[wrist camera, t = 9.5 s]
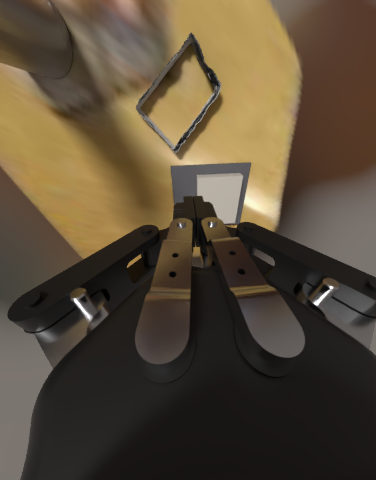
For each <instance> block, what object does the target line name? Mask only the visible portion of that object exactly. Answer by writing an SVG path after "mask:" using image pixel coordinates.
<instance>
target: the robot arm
mask: <svg viewBox="0 0 376 480" xmlns="http://www.w3.org/2000/svg"><path fill="white" fill-rule="evenodd" d="M72 54H73V53H72V44H71V40H70V36H69V33H68V30H67V27H66V25H65V23H64V21H63V19H62V17H61V15H60V13H59V12H58V10H57V9H56V7H55V6H54V4H53V3H52V2H51V1H50V0H0V63H3V64H6V65H10V66H13V67H16V68H19V69H22V70H25V71H28V72H31V73H34V74H37V75H40V76H44V77H47V78H51V79H59V78H61V77H63V76H65V75H66V74H67V73H68V71H69V69H70V67H71V63H72ZM183 201H184V202H181V203H176V204H175V205H174V214H173V221H172V222H171V223H170V227H169V228H167V229H163V230H159V229H158V227H156V226H154V225H144V226H141V227H139V228H137V229H136V230H134V231H132V232H130V233H129V234H127V235H125V236H123V237H122V238H120V239H118V240H117V241H115V242H113V243H111V244H110V245H108V246H106V247H104V248H103V249H101V250H99V251H98V252H96V253H94V254H92V255H91V256H89V257H87V258H85V259H84V260H82V261H80V262H79V263H77V264H75V265H73V266H72V267H70V268H68V269H67V270H65V271H63V272H61V273H60V274H58V275H56V276H54V277H53V278H51V279H49V280H48V281H46V282H44V283H43V284H41V285H39V286H37V287H35V288H34V289H32V290H30V291H28V292H27V293H25V294H24V295H22V296H21V297H20V298H18V299H17V300H16V301H15V302H14V303H13V304H12V306H11V307H10V309H9V311H8V318H9V319H10V320H11V321H12V322H14V323H15V324H17V325H18V326H20V327H21V328H23V329H24V331H25V332H26V333H28V334H29V335H31V336H33V337H34V338H36V339H37V340H38V342H39V344H40V346H41V348H42V350H43V351H44V353H45V355H46V357H47V359H48V360H49V362H50V364H51V366H52V368H53V370H52V372H51V373H50V375H49V376H48V378H47V379H46V381H45V383H44V384H43V387H42V388H41V390H40V393H39V395H38V397H37V400H36V403H35V406H34V409H33V413H32V419H31V427H30V436H29V444H28V450H27V455H26V460H25V464H24V468H23V472H22V476H21V479H20V480H376V355H375V354H373V352H371V351H370V350H369V348H370V344H371V339H372V335H373V331H374V327H375V322H376V277H374V276H371V275H369V274H367V273H365V272H362V271H360V270H358V269H356V268H353V267H351V266H349V265H346V264H344V263H342V262H340V261H338V260H335V259H333V258H331V257H329V256H326V255H324V254H322V253H319V252H317V251H315V250H313V249H310V248H308V247H306V246H304V245H301V244H299V243H297V242H295V241H292V240H290V239H288V238H286V237H283V236H281V235H279V234H277V233H274V232H272V231H270V230H268V229H265V228H263V227H261V226H258V225H256V224H254V223H250V222H242V223H239V224H238V225H237V228H231V227H227V226H225V224H224V223H223V221H222V220H221V219H219V218H218V217H217V215H216V212H215V209H214V207H213V204H211V203H210V202H204V200H203V196H193V197H192V196H183ZM195 241H196V247H200V258H201V262H202V266H203V268H200V267H193V266H192V253H193V247H195ZM255 249H258V250H260V251H262V252H264V253H265V254H267V255H269V256H271V257H273V259H274V261H275V266H272V265H270V264H268V263H267V262H265V261H263V260H261V259H260V258H258V257H256V256H255V255H253V254H254V251H255ZM140 254H141V257H142V258H140V259H139V260H138V261H136V262H135V263H134V264H132V265H131V266H130V267H128V268H127V265H128V263H129V262H130V261H131V260H133V259H134V258H135V257H137V256H138V255H140Z"/></svg>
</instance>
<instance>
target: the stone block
mask: <svg viewBox="0 0 376 480" xmlns="http://www.w3.org/2000/svg"><path fill="white" fill-rule="evenodd" d="M242 180H243V175H242V174H241V173H228V174H206V175H197V196H203V200H204V202H210V203H211V204H213V207H214V209H215V212H216V215H217V217H218V218H219V219H221V220H222V221H223V223H224V224H227V223H235V221H236V215H237V209H238V203H239V197H240V191H241V186H242Z"/></svg>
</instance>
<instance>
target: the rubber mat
mask: <svg viewBox="0 0 376 480" xmlns="http://www.w3.org/2000/svg"><path fill="white" fill-rule="evenodd" d="M250 166H251V163H229V164H206V165H184V166H171V175H172V186H173V196H174V205H175V204H176V203H181V202H184V201H183V196H192V197H193V196H197V175H206V174H228V173H241V174H242V175H243V180H242V186H241V191H240V197H239V203H238V209H237V215H236V221H235V223H227V224H225V225H232V224H239V223H240V218H241V213H242V208H243V203H244V197H245V192H246V187H247V182H248V177H249V171H250Z"/></svg>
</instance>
